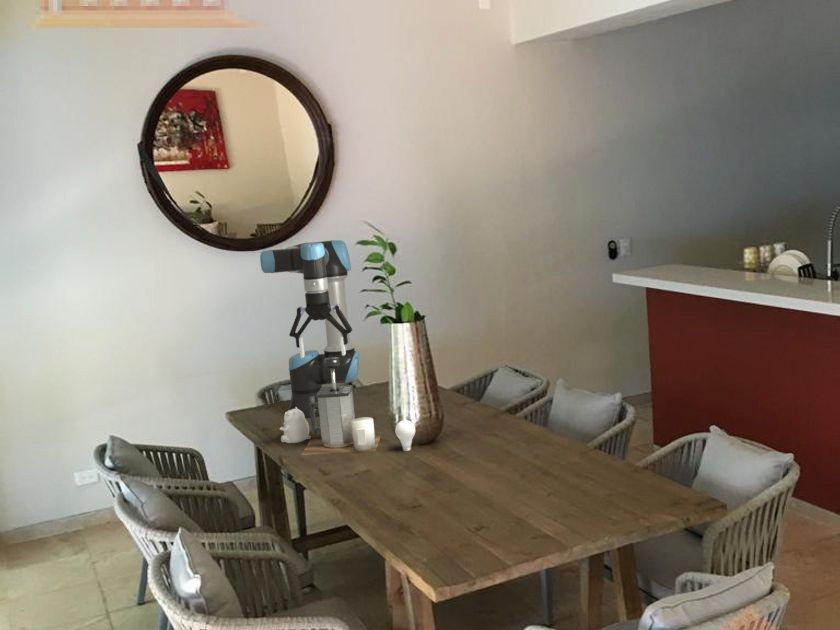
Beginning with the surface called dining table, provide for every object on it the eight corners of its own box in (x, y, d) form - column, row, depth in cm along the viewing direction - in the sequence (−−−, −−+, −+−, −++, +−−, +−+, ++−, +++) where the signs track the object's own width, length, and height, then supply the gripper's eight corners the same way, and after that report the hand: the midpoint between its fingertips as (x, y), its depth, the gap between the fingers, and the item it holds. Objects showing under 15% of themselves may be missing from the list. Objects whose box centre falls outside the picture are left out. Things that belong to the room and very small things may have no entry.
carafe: (316, 439, 292) (311, 387, 289) (358, 437, 291) (353, 385, 288) (311, 449, 282) (305, 396, 279) (353, 447, 281) (348, 393, 278)
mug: (355, 444, 283) (352, 417, 282) (376, 443, 283) (374, 416, 282) (351, 452, 275) (349, 425, 274) (373, 451, 275) (371, 424, 273)
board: (310, 444, 293) (310, 439, 293) (381, 439, 292) (380, 435, 291) (301, 459, 277) (301, 454, 277) (376, 455, 276) (375, 450, 276)
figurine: (314, 438, 300) (311, 404, 298) (308, 447, 290) (304, 412, 288) (286, 439, 301) (282, 405, 299) (279, 448, 291) (275, 413, 289)
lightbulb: (393, 456, 273) (390, 422, 271) (403, 450, 278) (400, 417, 277) (411, 458, 270) (408, 423, 268) (421, 451, 275) (418, 418, 274)
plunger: (326, 409, 289) (320, 356, 286) (351, 407, 288) (346, 355, 286) (321, 416, 281) (316, 362, 278) (347, 414, 280) (342, 360, 277)
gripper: (275, 295, 276) (283, 360, 280) (353, 290, 274) (359, 356, 278) (281, 292, 284) (288, 355, 287) (356, 286, 281) (362, 350, 285)
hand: (323, 355), depth 283 cm, fingers open, 13 cm apart
